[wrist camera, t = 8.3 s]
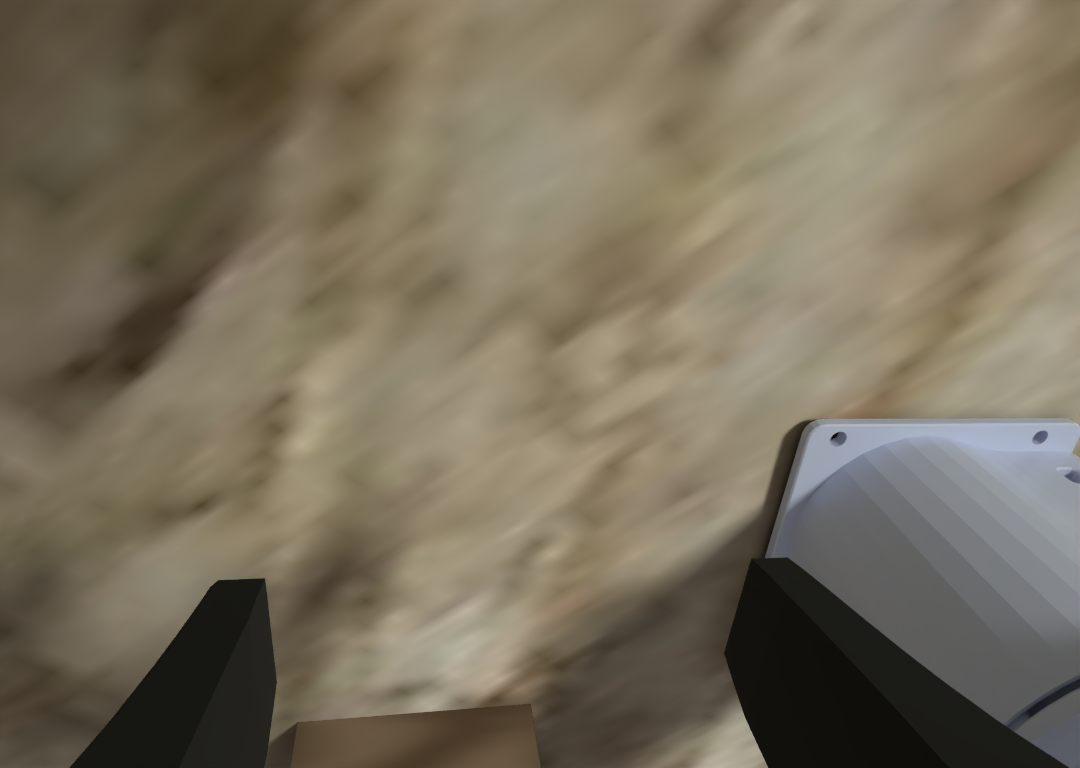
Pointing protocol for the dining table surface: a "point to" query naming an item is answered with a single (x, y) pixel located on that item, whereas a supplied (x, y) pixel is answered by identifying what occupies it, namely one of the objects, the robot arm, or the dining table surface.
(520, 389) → the dining table surface
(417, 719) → the walnut block
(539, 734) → the dining table surface
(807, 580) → the robot arm
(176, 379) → the dining table surface
